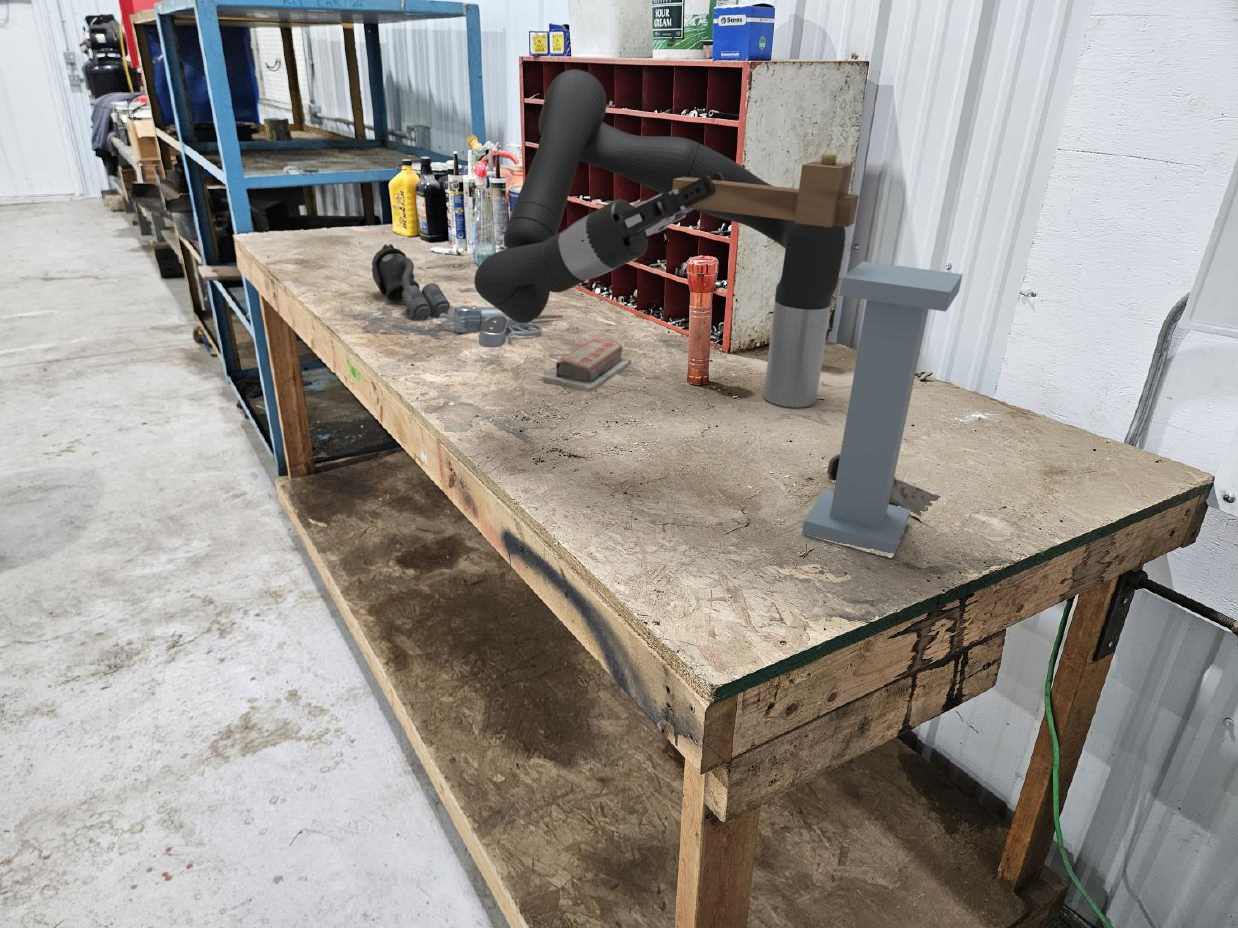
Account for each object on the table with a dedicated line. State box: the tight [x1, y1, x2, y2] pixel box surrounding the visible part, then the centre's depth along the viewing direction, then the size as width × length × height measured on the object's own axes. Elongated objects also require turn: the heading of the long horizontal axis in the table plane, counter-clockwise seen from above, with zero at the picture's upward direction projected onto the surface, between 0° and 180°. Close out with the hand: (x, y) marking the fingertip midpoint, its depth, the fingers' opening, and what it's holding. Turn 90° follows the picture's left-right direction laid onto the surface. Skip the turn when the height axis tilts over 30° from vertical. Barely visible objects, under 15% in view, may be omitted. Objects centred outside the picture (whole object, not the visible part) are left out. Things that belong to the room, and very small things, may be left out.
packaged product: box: [542, 338, 632, 393], centre depth 151 cm, size 18×5×10 cm
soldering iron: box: [439, 305, 564, 348], centre depth 172 cm, size 6×28×16 cm
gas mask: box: [371, 243, 451, 321], centre depth 188 cm, size 15×9×26 cm
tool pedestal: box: [801, 261, 963, 554], centre depth 95 cm, size 10×11×32 cm
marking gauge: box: [672, 153, 860, 228], centre depth 91 cm, size 6×21×7 cm, turn 62°
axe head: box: [826, 453, 941, 516], centre depth 110 cm, size 20×5×10 cm
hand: (717, 182), depth 94 cm, fingers closed on marking gauge, 3 cm apart
